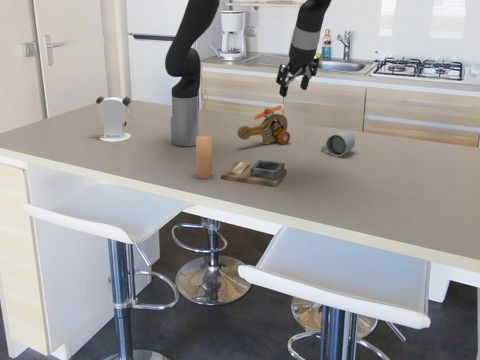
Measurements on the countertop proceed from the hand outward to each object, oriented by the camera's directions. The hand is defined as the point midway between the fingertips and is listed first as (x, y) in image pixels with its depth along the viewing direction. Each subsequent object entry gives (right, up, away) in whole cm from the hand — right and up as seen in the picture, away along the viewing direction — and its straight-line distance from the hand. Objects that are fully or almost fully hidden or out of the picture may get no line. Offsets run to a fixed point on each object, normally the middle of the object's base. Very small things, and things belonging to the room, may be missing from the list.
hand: (293, 92), depth 146 cm
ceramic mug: (+17, -17, +22) cm, 33 cm away
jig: (-12, -25, +1) cm, 28 cm away
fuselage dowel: (-27, -25, +1) cm, 37 cm away
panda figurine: (-62, -11, +35) cm, 72 cm away
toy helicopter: (-7, -14, +30) cm, 33 cm away
